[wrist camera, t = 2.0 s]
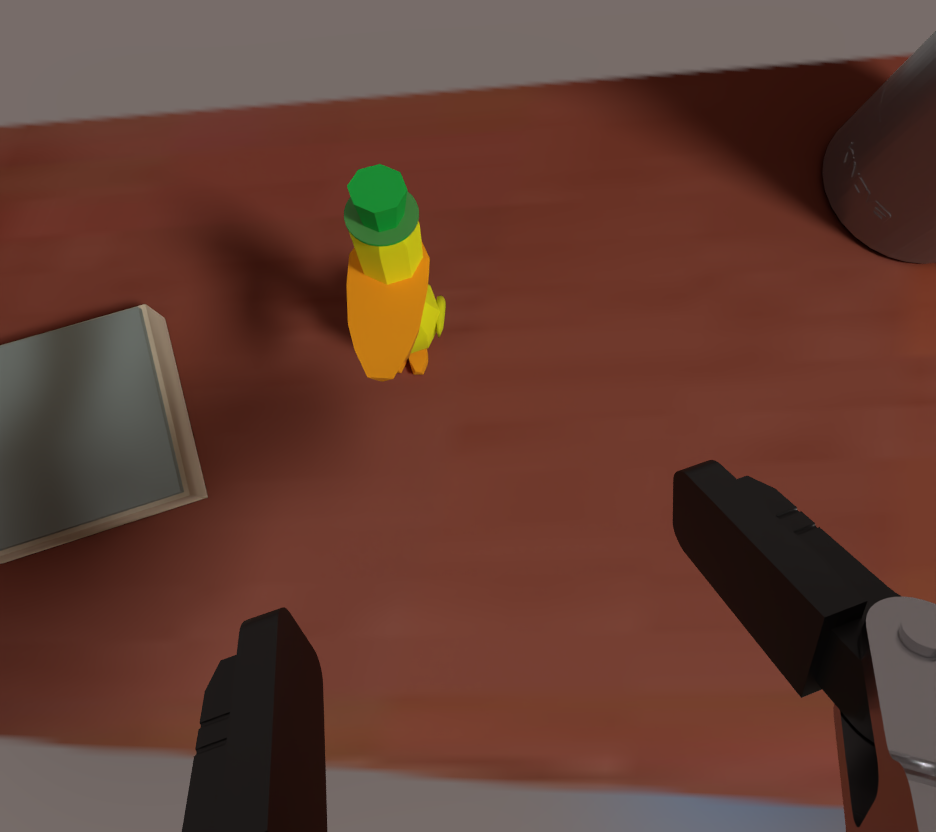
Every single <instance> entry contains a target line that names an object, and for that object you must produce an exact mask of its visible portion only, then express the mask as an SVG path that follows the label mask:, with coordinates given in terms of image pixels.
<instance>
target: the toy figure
mask: <svg viewBox="0 0 936 832" xmlns="http://www.w3.org/2000/svg"><path fill="white" fill-rule="evenodd" d="M347 187H348V190H349V193H350V196H351V197H350V198H349V200H348V202H347V203H346V206H345V210H344V220H345V223H346V227H347V228H348V230H349V233H350V236H351V239H352V242H353V244H354V249H353V250H352V251H351V253H350V254H349V264H348V275H347V310H348V326H349V330H350V334H351V338H352V342H353V346H354V349H355V352H356V354H357V356H358V358H359V360H360V362H361V364H362V367H363V369H364V371H365V373H366V375H367V377H368V378H372V379H375V380H378V381H386V380H390V379H393V378H394V377H395V375H396V373H402V371H403V369H404V367H405V365H406V363H407V359H408V358H409V362H410V365H411V368H412V371H413V374H414V375H424V372H425V369H426V367H427V364H428V352H427V348H428V347H429V346H430V344H431V342H432V340H433V338H434V336H435V334H436V332H437V335H438V338H439V337H440V335H441V332H442V330H443V325H444V317H445V309H446V303H445V300H444V297H442V296H441V295H440V296H438V297H437V300H435V297H434V295H433V292H432V289H431V287H430V285H428V276H429V262H430V258H429V256H428V254H427V252H426V250H425V247H424V245H423V243H422V241H421V233H420V225H419V222H418V219H419V209H418V206H417V203H416V201H415V199H414V198H413V196H412V195H411V194H410V193H409V192H408V191H407V188H406V185H405V183H404V180H403V178H402V175H401V173H400V172H398V171H396V170H393V169H391V168H389V167H386V166H384V165H381V164H378V165H375V166H371V167H367V168H363V169H359V170H358V171H357V172H356V174H355V175H354V177H353V178H352V180H351V181H350V183H349V184H348V186H347Z"/></svg>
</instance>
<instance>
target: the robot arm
mask: <svg viewBox="0 0 936 832" xmlns="http://www.w3.org/2000/svg"><path fill="white" fill-rule="evenodd" d="M822 175H823V181H824V188H825V192H826V195H827V197H828V200H829V202H830V205H831V207H832V209H833V210H834V212H835V213H836V215H837V217H838V218H839V220H840V221H841V223H842V224H843V225H844V226H845V227H846V228H847V229H848V230H849V231H850V232H851V233H852V234H853V235H854V236H855V237H856V238H857V239H859V240H860V241H861V242H863V243H864V244H866V245H867V246H868V247H870V248H871V249H873V250H875V251H877V252H879V253H881V254H884V255H886V256H888V257H891V258H894V259H898V260H901V261H905V262H913V263H923V264H926V263H936V31H935V32H934V33H933V34H932V35H931V36H930V37H929V38H928V39H927V40H926V41H925V42H924V43H923V44H922V45H921V46H920V47H919V49H917V50H916V51H915V52H914V54H913V55H912V56H911V57H910V58H909V59H908V60H907V61H906V62H905V63H904V64H903V65H902V66H901V67H900V68H899V69H898V70H897V71H896V72H895V73H894V74H893V75H892V76H891V77H890V78H889V79H888V80H887V81H886V82H885V83H884V84H883V85H882V86H881V87H880V88H879V89H878V90H877V91H876V92H875V93H874V94H873V95H872V96H871V97H870V98H869V99H868V100H867V101H866V102H865V103H864V104H863V105H862V106H861V107H860V108H859V109H858V110H857V111H856V112H855V114H854V115H853V116H852V117H851V118H850V119H849V120H848V121H847V122H846V123H845V124H844V125H843V126H842V127H841V128H840V129H839V130H838V131H837V132H836V134H835V135H834V137H833V138H832V140H831V141H830V143H829V144H828V147H827V150H826V153H825V156H824V160H823V173H822ZM673 528H674V532H675V535H676V537H677V540H678V542H679V544H680V546H681V547H682V549H683V551H684V552H685V553H686V555H687V556H688V557H689V558H690V560H691V561H692V562H693V563H694V565H695V566H696V567H697V568H698V570H699V571H700V572H701V573H702V574H703V576H704V577H705V578H706V579H707V581H708V582H709V583H710V584H711V586H712V587H713V588H714V589H715V591H716V592H717V593H718V594H719V596H720V597H721V598H722V599H723V601H724V602H725V603H726V604H727V606H728V607H729V608H730V609H731V611H732V612H733V613H734V614H735V616H736V617H737V618H738V619H739V621H740V622H741V623H742V624H743V626H744V627H745V628H746V629H747V631H748V632H749V633H750V634H751V636H752V637H753V638H754V639H755V641H756V642H757V643H758V644H759V646H760V647H761V648H762V649H763V651H764V652H765V653H766V654H767V656H768V657H769V658H770V659H771V661H772V662H773V663H774V664H775V666H776V667H777V668H778V669H779V671H780V672H781V673H782V674H783V675H784V677H785V678H786V679H787V680H788V682H789V683H790V684H791V685H792V687H793V688H794V689H795V690H796V692H797V693H798V694H799V695H800V697H801V698H802V697H804V696H807V695H809V694H812V693H814V692H817V691H819V690H821V689H823V691H824V692H825V693H826V694H827V695H828V697H829V698H830V699H831V700H832V701H833V702H834V723H835V732H836V741H837V750H838V759H839V769H840V778H841V787H842V796H843V805H844V813H845V824H846V832H936V604H934V603H931V602H928V601H925V600H921V599H917V598H911V597H901V596H900V595H898V594H897V593H895V592H894V591H893V590H891V589H890V588H889V587H887V586H886V585H885V584H884V583H883V582H882V581H881V580H879V579H878V578H877V577H876V576H875V575H874V574H872V573H871V572H870V571H869V570H868V569H867V568H866V567H864V566H863V565H862V564H861V563H860V562H859V561H858V560H856V559H855V558H854V557H853V556H852V555H851V554H850V553H848V552H847V551H846V550H845V549H844V548H843V547H842V546H840V545H839V544H838V543H837V542H836V541H835V540H833V539H832V538H831V537H830V536H829V535H828V534H827V533H825V532H824V531H823V530H822V529H821V528H820V527H819V528H817V527H816V526H815V523H814V522H813V521H812V520H811V519H809V518H808V517H807V516H806V515H805V514H804V513H803V512H799V511H798V510H797V507H796V506H794V505H793V504H792V503H791V502H790V501H789V500H788V499H786V498H785V497H784V496H783V495H782V494H781V493H780V492H778V491H777V490H776V489H775V488H773V487H770V486H768V485H766V484H764V483H762V482H760V481H758V480H755V479H753V478H751V477H749V476H745V477H742V478H739V479H736V478H735V477H734V476H733V475H732V474H731V473H729V472H728V471H727V470H726V469H725V468H724V467H723V466H722V465H721V464H719V463H718V462H716V461H714V460H709V461H706V462H703V463H700V464H697V465H694V466H692V467H689V468H686V469H683V470H680V471H677V472H676V473H675V474H674V480H673ZM200 724H201V728H200V729H199V731H198V737H197V743H196V751H197V754H196V755H195V756H194V761H193V767H192V773H191V779H190V786H189V792H188V798H187V804H186V810H185V816H184V823H183V828H182V832H327V809H326V808H327V805H326V774H325V773H326V770H325V736H324V702H323V678H322V672H321V667H320V663H319V660H318V657H317V654H316V652H315V650H314V649H313V647H312V646H311V644H310V643H309V641H308V639H307V638H306V636H305V635H304V633H303V632H302V630H301V629H300V627H299V626H298V624H297V623H296V621H295V620H294V618H293V617H292V615H291V614H290V612H289V611H288V610H287V609H286V608H280V609H277V610H274V611H271V612H268V613H266V614H263V615H260V616H257V617H254V618H251V619H248V620H246V621H244V622H243V623H242V625H241V627H240V632H239V640H238V648H237V655H235V656H232V657H229V658H226V659H224V660H221V661H220V663H219V665H218V667H217V669H216V671H215V673H214V675H213V677H212V678H211V680H210V682H209V684H208V686H207V688H206V690H205V694H204V700H203V706H202V712H201V718H200Z"/></svg>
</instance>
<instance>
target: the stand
mask: <svg viewBox="0 0 936 832" xmlns="http://www.w3.org/2000/svg"><path fill="white" fill-rule="evenodd" d="M204 498H208V496H207V491H206V487H205V483H204V479H203V475H202V471H201V466H200V462H199V458H198V454H197V450H196V446H195V441H194V437H193V433H192V429H191V425H190V421H189V416H188V412H187V408H186V404H185V400H184V396H183V391H182V387H181V383H180V379H179V375H178V371H177V366H176V362H175V358H174V354H173V350H172V346H171V341H170V337H169V333H168V329H167V325H166V321H165V318H164V317H162V316H161V315H160V314H158V313H157V312H156V311H154V310H153V309H151V308H150V307H149V306H147V305H146V304H144V305H140V306H137V307H133V308H130V309H126V310H123V311H119V312H116V313H112V314H109V315H105V316H102V317H98V318H95V319H91V320H88V321H84V322H81V323H77V324H73V325H70V326H66V327H63V328H59V329H56V330H52V331H49V332H45V333H42V334H38V335H35V336H31V337H28V338H24V339H21V340H17V341H14V342H10V343H7V344H3V345H0V564H2V563H6V562H9V561H12V560H15V559H18V558H21V557H24V556H27V555H30V554H34V553H37V552H40V551H43V550H46V549H49V548H52V547H55V546H58V545H62V544H65V543H68V542H71V541H74V540H77V539H80V538H83V537H86V536H89V535H93V534H96V533H99V532H102V531H105V530H108V529H111V528H114V527H117V526H121V525H124V524H127V523H130V522H133V521H136V520H139V519H142V518H145V517H148V516H152V515H155V514H158V513H161V512H164V511H167V510H170V509H173V508H176V507H180V506H183V505H186V504H189V503H192V502H195V501H198V500H201V499H204Z"/></svg>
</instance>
